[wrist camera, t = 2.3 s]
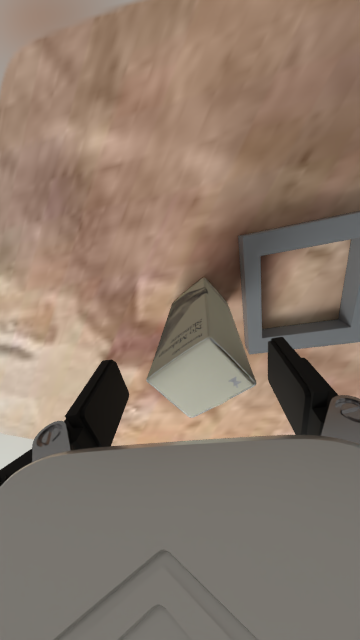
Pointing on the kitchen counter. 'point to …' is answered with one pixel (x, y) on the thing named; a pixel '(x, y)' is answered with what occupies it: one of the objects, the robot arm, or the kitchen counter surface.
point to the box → (200, 353)
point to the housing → (356, 304)
